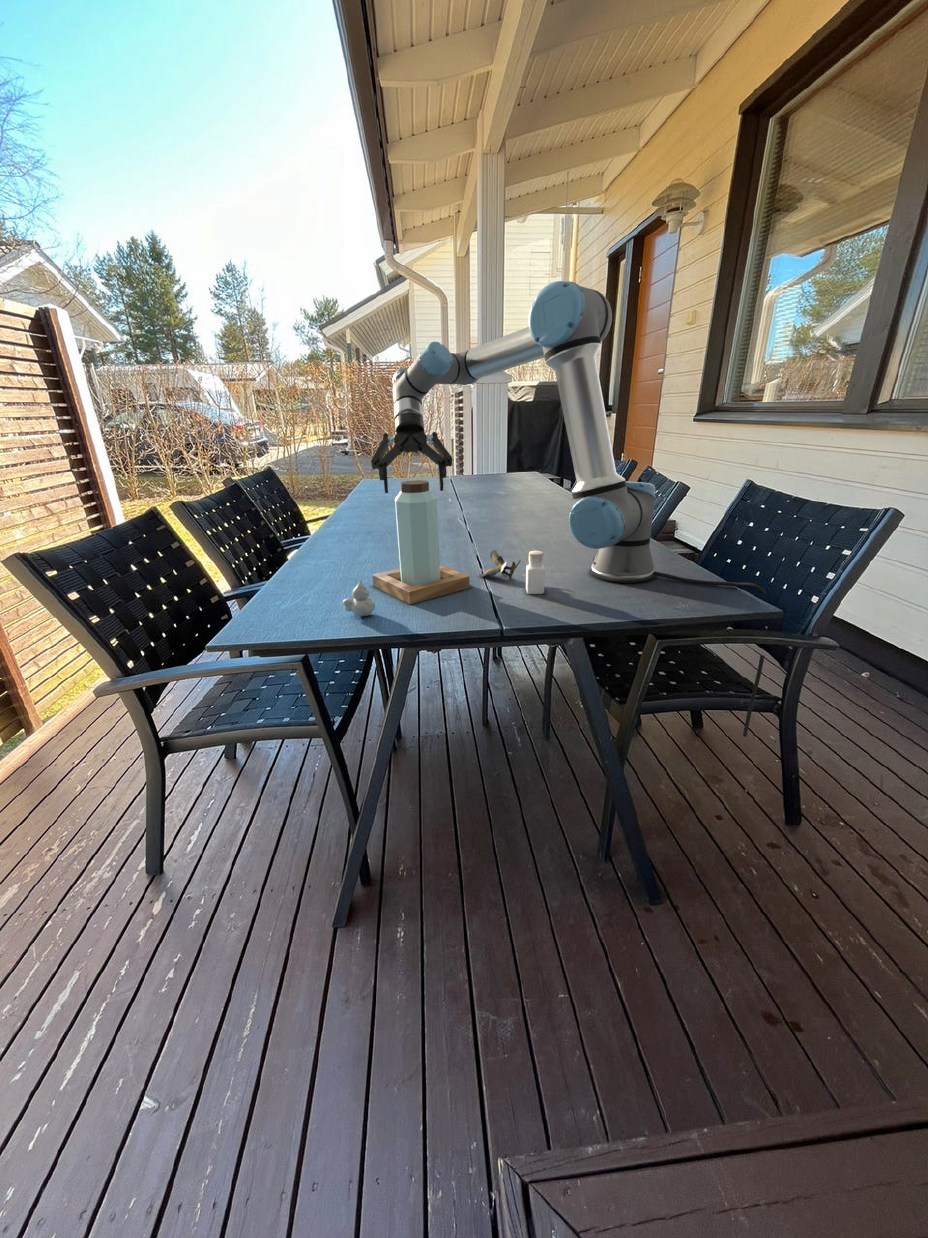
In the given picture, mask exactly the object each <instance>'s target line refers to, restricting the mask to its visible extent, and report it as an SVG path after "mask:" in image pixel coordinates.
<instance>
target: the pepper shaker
mask: <svg viewBox="0 0 928 1238" xmlns="http://www.w3.org/2000/svg"><path fill="white" fill-rule="evenodd" d="M543 561H544V552H543V551H541V550H530V551H529V552H528V564H527V565H526V567H525V590H526V594H528V595H543V594H544V593H545V580H546V579H545V577H546V569H545V568H546V567H545V565H544V564H543Z"/></svg>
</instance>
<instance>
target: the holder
mask: <svg viewBox="0 0 928 1238" xmlns="http://www.w3.org/2000/svg"><path fill="white" fill-rule="evenodd" d="M440 579H441V580H437V581H433V582H430V583H426V584H422V585H418V586H414V587H412V586H410V585H407V584H405V583H403V582H401V573H400V567H399V568H395V569H390V570H386V571H382V572H377V573H374V574H372V586H373V587H374V588H376V589H379V590H380V591H383V592H384V593H387V594H388V595H390V596H392V597H394V598H396V599H397V600H401V601H402V602H404V603H406V604H409V605H412V604H416V603H420V602H424V601H428V600H431V599H435V598H438V597H442V596H446V595H449V594H453V593H456V592H460V591H464V590H466V589H470V587H471V585H470V583H471V582H470V580H471V579H470V575H467V574H465V573H462V572H459V571H457V570H454V569H451V568H449V567H446V566H444V565H441V564H440Z"/></svg>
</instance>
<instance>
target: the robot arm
mask: <svg viewBox="0 0 928 1238" xmlns="http://www.w3.org/2000/svg"><path fill="white" fill-rule="evenodd" d="M527 320H528V321H527V322H528V326H527V327H525V328H522V329H519V330H516V331H514V332H511V333H509V334H506V335H503V336H501V337H498V338H496V339H493V340H490V341H487V342H485V343H482V344H480V345H477V346H474V347H472V348H470V349H467V350H464V351H462V352H458V353H456V352H455V353H453V352H451V351H450V349H448V348H447V347H446V346H445V345H444V344H441V343H440V342H439V341H431V342H429V344H428V345H426V347H424V348H423V349H422V350H421V351H420V353H419V354H418V356H417V357H415V359H414V360H413V361H412V363H411V365H409V367H402V368H401V369H397V371H396V370H395V372H394V374H393V376H392V386H391V391H392V399H393V416H394V432H395V434H394V435H389V434H388V433H387V432H385V433H383V434H382V441H381V442H380V444H379V446H378V447H377V449H376V451H375V453H374V455H373V456H372V458H371V460H370V461H371V462H370V463H371V468H372V470H376V469H377V470H378V477H379V480H380V481H383V486H384V487H383V488H384V494H389V485H388V484H389V483H388V482H389V480H388V466H390V465H391V463H393V461H394V460H395V459H396V458H397V457H398V456H400V455H402V453H403V452H405V453H418V452H419V453H421V454H422V455H425V456H426V457H427V458H428V459H430V460H431V461H432V462H433V463H434V464H436V465H437V472H438V473H437V474H438V485H439V491H440V492H442V491H443V492H444V479H446V478H447V473H448V472H447V467H452V466H453V457H452V455H451V454H450V452H449V451H448V450H447V448H446V447H445V445H444V444H443V442H441V440H440V438H439V437H438V432H436V431H433V432H432V434H426V431H425V421H424V410H423V399H424V397H425V396H426V395H427V394H428V393H429V392H430V391H431V390H432V389H433V388H434V387H435V386H436V385H460V386H467V385H474V384H475V383H477V382H478V381H479V379H482V378H486V377H488V376H491V375H494V374H498V373H501V372H504V371H507V370H510V369H513V368H516V367H519V366H522V365H525V364H528V363H531V362H535V361H538V360H541V359H543V358H544V361H545V365H546V366H548V367H549V368H551V369H552V370H554V374H555V379H556V383H557V389H558V394H559V399H560V405H561V410H562V415H563V420H564V424H565V429H566V434H567V440H568V445H569V449H570V455H571V460H572V465H573V470H574V475H575V481H576V484H575V485H574V488H572V490H571V496H572V502H573V506H572V508H571V510H570V512H569V516H568V526H569V530H570V532H571V534H572V536H573V537H574V538H575V540H576V541H577V542H579V543H580V544H581V545H583V546H584V547H587V548H589V549H594V550H597V551H596V553H595V556H594V557H593V559H592V564H591V571H590V573H591V575H592V576H594V577H595V578H597V579H600V580H603V581H606V582H611V583H618V584H619V583H620V584H621V583H622V584H636V583H643V582H648V581H650V580H652V579H653V578H654V577H655V576H658V577H662V578H666V579H670V580H673V581H678V582H683V583H688V584H695V585H706V586H725V587H734V588H735V587H736V588H737V587H739V588H741V587H743V588H744V587H745V588H753V589H755V590H757V591H758V592H759V593H760V594H763V595H767V592H766V591H765V589H764V588H763V587H762V586H760V585H758V584H756V583H753V582H732V581H718V580H717V581H716V580H715V581H713V580H703V579H702V580H701V579H693V578H686V577H681V576H678V575H677V576H676V575H673V574H669V573H664V572H660V571H656V570H655V569H656V568H655V565H654V560H653V555H652V551H651V545H650V544H651V535H652V526H653V520H654V519H653V518H654V511H655V510H654V509H655V501H656V486H655V485H654V484H653V483H651V482H643V481H640V482H639V481H626V478H625V477H623V476H621V474H619V473H617V468H616V464H615V463H616V462H615V459H614V452H613V447H612V442H611V441H612V440H611V436H610V430H609V424H608V420H607V413H606V409H605V402H604V396H603V392H602V386H601V381H600V375H599V369H598V364H597V355H598V353H599V351H600V350H601V349H602V342H603V341H604V340H605V338H606V337H607V335H608V333H609V332H610V329H611V326H612V322H613V311H612V307H611V304H610V302H609V300H608V299H607V297H606V295H604V294H603V293H602V292H600V291H598V290H596V289H593V288H589V287H585V286H581V285H579V284H578V283H576V282H574V281H570V280H567V281H564V280H557V281H552V282H550V283H549V284H546V285H545V286H544V287H543V288H542V289H540V291H539V292H538V293H537V294H536V296H535V297H534V300H533V302H532V304H531V305H530V309H529V312H528V319H527ZM428 442H429V443H430V444H431V445H432V446H433V448H434V449H433V448H432V447H431V446H429V444H428ZM392 443H394V445H393V446H392V448H391V449H390V450H389V451H388V448H389V447H390V446H391V444H392ZM764 662H765V655H759V661H758V665H757V671H756V675H755V680H754V684H753V687H752V692H751V695H750V700H749V704H748V707H747V713H746V717H745V723H744V727H743V733H742V736H743V737H744V738H747V736H748V731H749V726H750V722H751V717H752V713H753V708H754V705H755V701H756V696H757V692H758V687H759V684H760V680H761V675H762V671H763V666H764Z"/></svg>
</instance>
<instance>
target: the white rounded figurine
mask: <svg viewBox="0 0 928 1238" xmlns="http://www.w3.org/2000/svg"><path fill="white" fill-rule="evenodd" d="M370 594H371V591H370V590H369V589H368V588H367V587H366V585H365V584H363V581H362V580H359V582H358V584H357V585H356V586H355V587H354V588H353V589H352V592H351V596H352V598H344V599H343V601H342V604H343V606H344V611H345V612H352V614H354V615H355V616H357V617H367V616H370V615H371V614H372V613H373V612H374V611H375V608H376V602H375V600H373V599H372V598H371V597H370Z"/></svg>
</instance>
